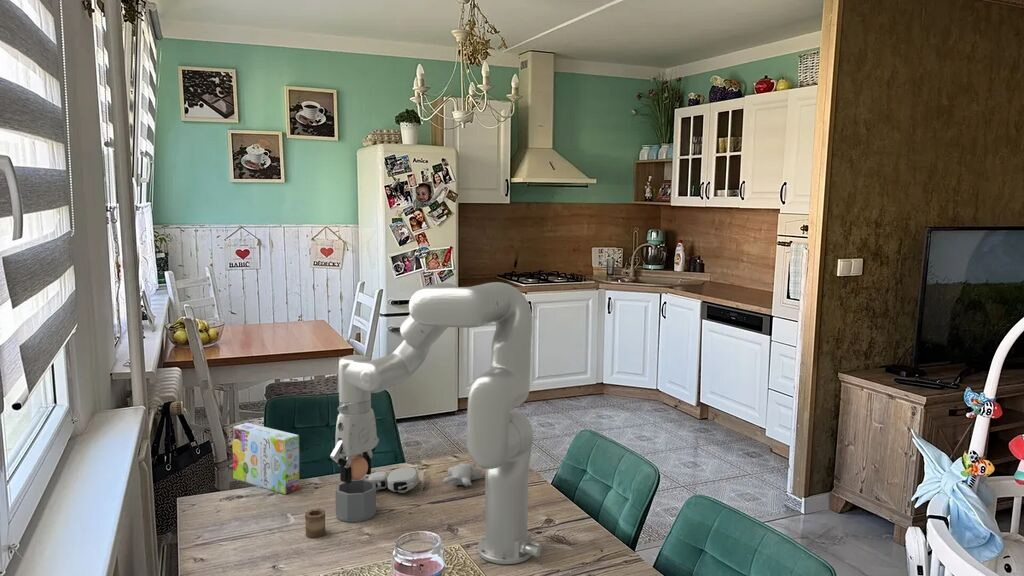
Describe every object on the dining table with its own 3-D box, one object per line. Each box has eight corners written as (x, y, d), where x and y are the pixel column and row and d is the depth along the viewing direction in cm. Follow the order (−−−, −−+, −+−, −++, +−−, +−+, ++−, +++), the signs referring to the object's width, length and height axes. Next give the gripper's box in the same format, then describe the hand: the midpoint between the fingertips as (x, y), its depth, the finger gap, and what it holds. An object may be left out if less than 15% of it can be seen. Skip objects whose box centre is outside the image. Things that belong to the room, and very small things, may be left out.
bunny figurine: (485, 461, 203) (473, 474, 188) (484, 479, 203) (473, 493, 188) (453, 458, 204) (439, 471, 189) (452, 476, 204) (438, 490, 189)
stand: (329, 532, 166) (329, 512, 165) (314, 539, 162) (314, 518, 161) (316, 527, 168) (316, 507, 167) (301, 534, 164) (301, 514, 164)
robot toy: (359, 500, 186) (416, 497, 186) (357, 484, 185) (415, 480, 186) (368, 482, 198) (421, 479, 198) (366, 467, 198) (420, 463, 198)
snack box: (301, 488, 191) (300, 434, 189) (285, 495, 186) (283, 440, 185) (248, 472, 202) (246, 421, 200) (231, 479, 197) (229, 426, 195)
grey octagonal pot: (383, 511, 177) (383, 484, 176) (356, 526, 169) (355, 497, 168) (356, 502, 182) (355, 476, 182) (327, 516, 174) (327, 488, 174)
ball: (373, 478, 176) (373, 454, 175) (355, 486, 171) (355, 462, 170) (355, 473, 179) (355, 450, 178) (338, 480, 174) (337, 456, 173)
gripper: (339, 417, 163) (340, 492, 165) (390, 400, 178) (391, 470, 180) (317, 412, 167) (318, 485, 169) (368, 396, 182) (369, 464, 184)
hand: (355, 477), depth 175 cm, fingers closed on ball, 6 cm apart
